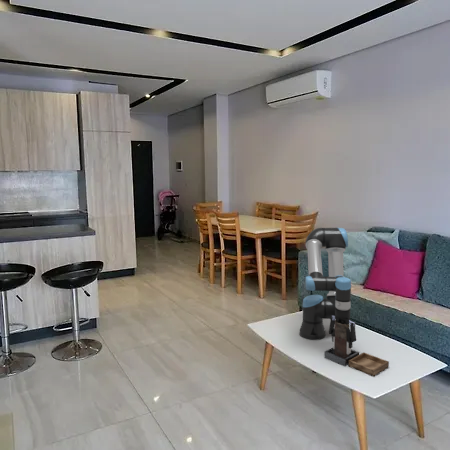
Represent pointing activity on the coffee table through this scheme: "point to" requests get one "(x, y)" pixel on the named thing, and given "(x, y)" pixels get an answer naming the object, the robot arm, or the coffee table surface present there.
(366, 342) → the coffee table surface
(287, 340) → the coffee table surface
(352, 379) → the coffee table surface
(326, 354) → the collar
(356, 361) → the tray
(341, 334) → the rusty brown cylinder
